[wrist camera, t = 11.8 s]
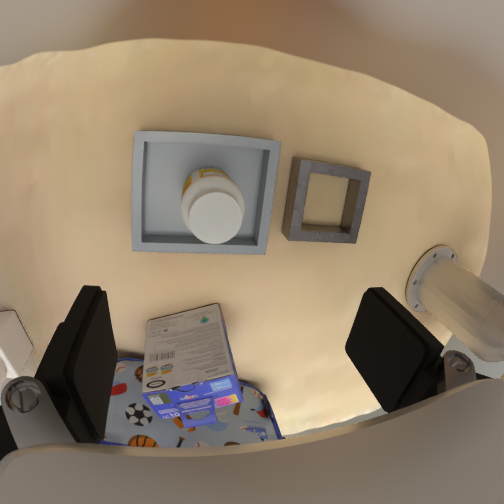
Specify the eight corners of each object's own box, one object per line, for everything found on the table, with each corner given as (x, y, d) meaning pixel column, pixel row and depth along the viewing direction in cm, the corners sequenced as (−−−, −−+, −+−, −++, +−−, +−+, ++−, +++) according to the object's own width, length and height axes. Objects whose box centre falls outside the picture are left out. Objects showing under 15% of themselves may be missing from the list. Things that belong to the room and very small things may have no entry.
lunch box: (279, 378, 45) (326, 493, 25) (252, 413, 48) (284, 517, 28) (107, 340, 35) (81, 486, 15) (100, 384, 38) (84, 507, 18)
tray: (272, 140, 29) (281, 141, 27) (258, 244, 34) (265, 254, 31) (139, 131, 26) (134, 131, 23) (136, 240, 31) (132, 251, 28)
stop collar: (359, 168, 33) (371, 171, 31) (346, 236, 36) (355, 243, 34) (292, 157, 31) (301, 159, 28) (281, 232, 34) (288, 240, 32)
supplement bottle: (217, 156, 28) (230, 168, 20) (242, 199, 31) (265, 229, 22) (172, 183, 28) (165, 207, 20) (198, 225, 31) (204, 265, 22)
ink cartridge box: (160, 350, 37) (159, 438, 24) (145, 320, 35) (135, 410, 22) (228, 333, 38) (250, 420, 26) (218, 301, 36) (238, 390, 23)
